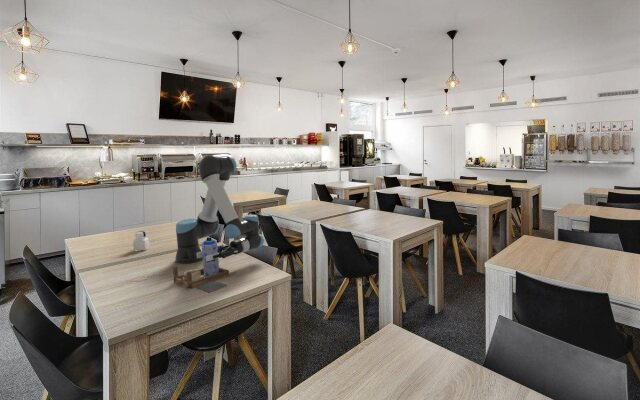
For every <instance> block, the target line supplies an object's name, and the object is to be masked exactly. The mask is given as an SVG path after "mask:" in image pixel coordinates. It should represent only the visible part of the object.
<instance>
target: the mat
mask: <svg viewBox="0 0 640 400" xmlns="http://www.w3.org/2000/svg"><path fill="white" fill-rule="evenodd" d="M225 287H228V284H227V283H224V282H221V281H218V280H214V281H211V282H209V283H206V284H203V285H200V286H198V287H196V289H199V290H202V291H204V292H206V293H208V294H210V293H212V292H215V291H218V290H220V289H223V288H225Z"/></svg>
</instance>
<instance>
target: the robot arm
mask: <svg viewBox="0 0 640 400" xmlns="http://www.w3.org/2000/svg"><path fill="white" fill-rule="evenodd" d="M236 171H237V161H236V160H235V157H233V155H231V154H227V153H222V154H207V155H205V156H203V158H201V160H200V162H199V164H198V172H199V176H200V179H201V181H202V183H204V184H206V187H207V191H206V193H205V194H206V196H205V198H204V202H203V206H202V210H201V212H199V213H198V215H197V218H187V219H182V220H179V221H178V222H176V224H175V233H176V234H175V235H176V242H177V243H176V244H177V250H176V252H175V253H176V254H175V259H174V260H175V262H176V263H177V264H192V263H195V262H196V263H197V262H199V261H201V260H203V255H202V248H201V246H200V244H199V242H200V241H199V240H201V239H204V238H208V237H212V236H214V235H216V234H217V233H218V231H219V230H220V223H219V222H220V221H219V217H218V215H217V214H218V211H219V214H220V215H221V217H222V220H223V222H224V224H225V225H226V226H225V227H224V234H225V236H226V237H227V238H228V239H231V240H232V239H235V240H232V241H230V243H229V244H225V245H224V244H221V245H217V247H218V253H214V254H211V255H207V256H206V261H210V260H214V259H217V258H218V259H221V258H222V259H225V258H229V257H231V256H234V255H235V256H237V255H239V254H242V253H243V254H244V253H245V252H248V251H252V250H256V249H259V248H261V247H262V246H263V245H264V243H265V240H264V237H263V235H262V234H260V231H259V230H260V229H259V228H260V227H259V223H260V221H259V217H258V215H257V214H247V215H245V216H244V218H243V219H244V220H240V218H239V216H238V214H237V212H236V209H235V208H234V206H233V204H232V201H231V200H230V197H229V196H228V193H227V191H226V189H225V186H226V182H228V181H229V180H230V177H231V175H233V174H234V173H235V172H236ZM242 236H245V237H242ZM239 237H242V238H239ZM237 238H238V239H237Z"/></svg>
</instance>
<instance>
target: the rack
mask: <svg viewBox="0 0 640 400" xmlns="http://www.w3.org/2000/svg"><path fill="white" fill-rule="evenodd" d="M195 270H196V269H195ZM178 271H179V270H178V266H176V265H174V266H172V273H173V274H172V275H173V276H172V277H173V283H174V284H177V285H179V286H182V287H184V288H186V289H188V290H191V289H195V288H197V287H198V286H201V285H203V284H206V283H209V282H212V281H214V280H216V281H218V280H221V279H222V278H225V277H228V276H230V270H229V269H226V268H222V267H221V266H219V273H218V274H215V275H212V276H209V277H206V278H205V277H202V279H200V280H197V281H194V282H192V276H191V272H190V271H189V270H187V271H188V272H187V271H185V272H186V273H187V282H186V281H184V280H183V277H184V275H183V274H182V275H181V274H180V275H179V274H178ZM196 271H200V272H201V275H204V267H202V268H201V269H200V268H199V269H197V270H196Z"/></svg>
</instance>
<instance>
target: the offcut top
mask: <svg viewBox="0 0 640 400" xmlns="http://www.w3.org/2000/svg"><path fill="white" fill-rule="evenodd" d="M188 271H190V272H191V276H192V279H193V280H194V279H196V278H198V277H200V276H201V277H202V274H201V272H200V271H196V269H190V270H187V271H185V272H183V273H182V275H184V278H187V273H186V272H188Z"/></svg>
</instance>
